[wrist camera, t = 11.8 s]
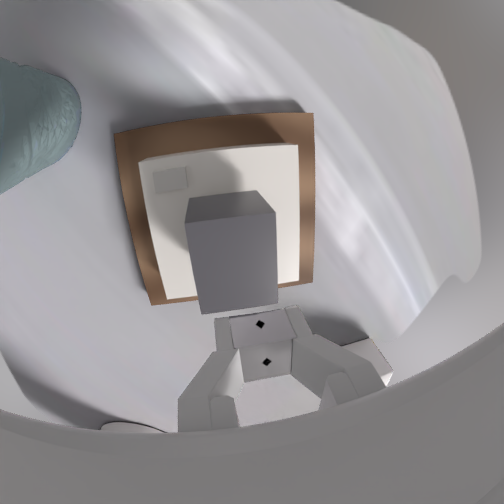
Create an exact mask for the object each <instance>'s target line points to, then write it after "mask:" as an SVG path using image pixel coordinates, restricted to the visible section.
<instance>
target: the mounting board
mask: <svg viewBox="0 0 504 504" xmlns="http://www.w3.org/2000/svg"><path fill="white" fill-rule="evenodd" d="M114 140H115V148H116V155H117V162H118V169H119V175H120V181H121V186H122V192H123V197H124V202H125V207H126V212H127V217H128V221H129V226H130V230H131V234H132V239H133V243H134V247H135V251H136V255H137V258H138V262H139V266H140V269H141V273H142V276H143V280H144V283H145V287H146V290H147V293H148V296H149V300H150V303H151V306H152V305H161V304H169V303H177V302H186V301H194V300H198V296H191V297H183V298H175V299H167V297H166V293H165V289H164V286H163V282H162V278H161V274H160V270H159V266H158V262H157V258H156V254H155V249H154V245H153V240H152V236H151V231H150V226H149V221H148V216H147V211H146V206H145V201H144V195H143V189H142V183H141V177H140V170H139V163H138V162H140V161H142V160H144V159H146V158H150V157H156V156H162V155H168V154H174V153H180V152H187V151H194V150H202V149H210V148H219V147H229V146H240V145H252V144H267V143H291V144H296V145H298V158H299V206H300V244H299V281H293V282H287V283H281V284H278V288H282V287H288V286H294V285H300V284H306V283H311V282H313V263H314V236H315V143H314V118H313V113H257V114H240V115H227V116H216V117H207V118H198V119H191V120H183V121H177V122H170V123H164V124H159V125H153V126H148V127H143V128H138V129H134V130H129V131H125V132H120V133H116V134H114Z"/></svg>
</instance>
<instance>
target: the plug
mask: <svg viewBox="0 0 504 504" xmlns="http://www.w3.org/2000/svg"><path fill="white" fill-rule="evenodd" d="M184 225H185V231H186V237H187V243H188V249H189V254H190V260H191V265H192V270H193V276H194V281H195V286H196V291H197V295H198V300H199V305H200V310H201V314H209V313H217V312H224V311H231V310H238V309H245V308H251V307H257V306H264V305H270V304H276V303H278V268H277V230H276V212H275V211H274V210H273V208H272V207H271V206H270V205H269V204H268V203H267V201H266V200H265V199H264V198H263V197H262V196H261V195H260V193H259V192H258V191H257V190H252V191H243V192H233V193H225V194H216V195H209V196H201V197H193V198H189V201H188V206H187V212H186V217H185V223H184Z"/></svg>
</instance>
